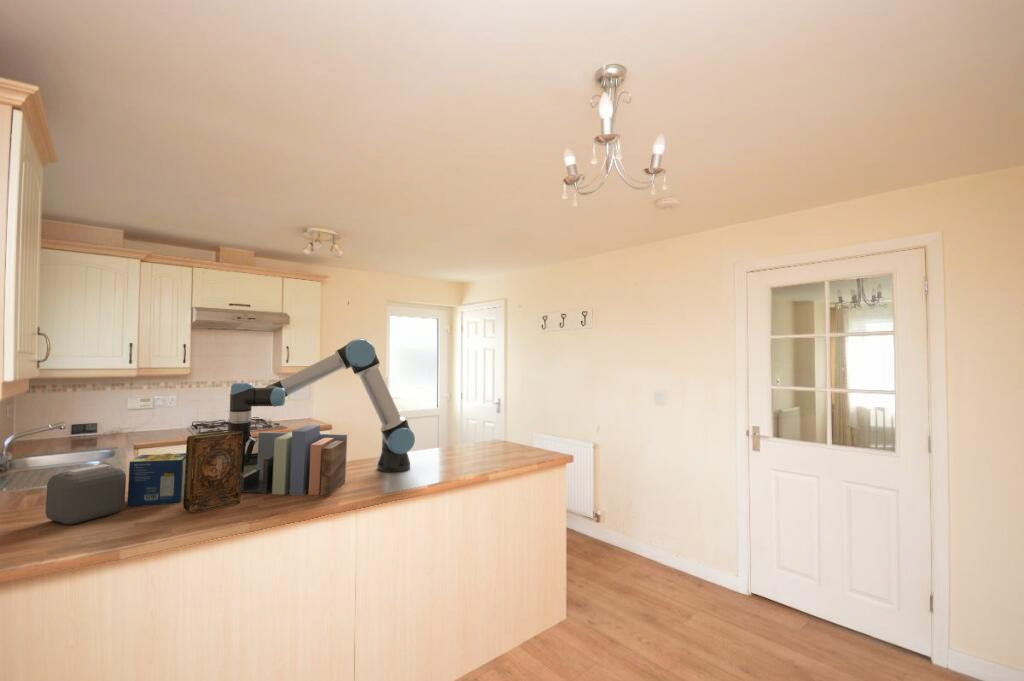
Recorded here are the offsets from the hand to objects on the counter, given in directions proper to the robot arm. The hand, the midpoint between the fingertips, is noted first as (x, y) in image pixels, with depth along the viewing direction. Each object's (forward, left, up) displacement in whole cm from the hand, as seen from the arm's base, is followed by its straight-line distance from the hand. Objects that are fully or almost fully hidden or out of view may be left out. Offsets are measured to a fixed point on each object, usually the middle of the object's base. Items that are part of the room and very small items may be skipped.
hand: (237, 481), depth 184 cm
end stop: (-37, 0, -2) cm, 37 cm away
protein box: (+18, +18, -3) cm, 25 cm away
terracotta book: (-33, 0, -2) cm, 33 cm away
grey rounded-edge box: (+28, +35, -3) cm, 44 cm away
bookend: (-9, 0, -2) cm, 10 cm away
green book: (-19, 0, -2) cm, 20 cm away
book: (-4, +23, -3) cm, 23 cm away
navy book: (-26, 0, -2) cm, 26 cm away
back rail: (-21, -9, -2) cm, 23 cm away
